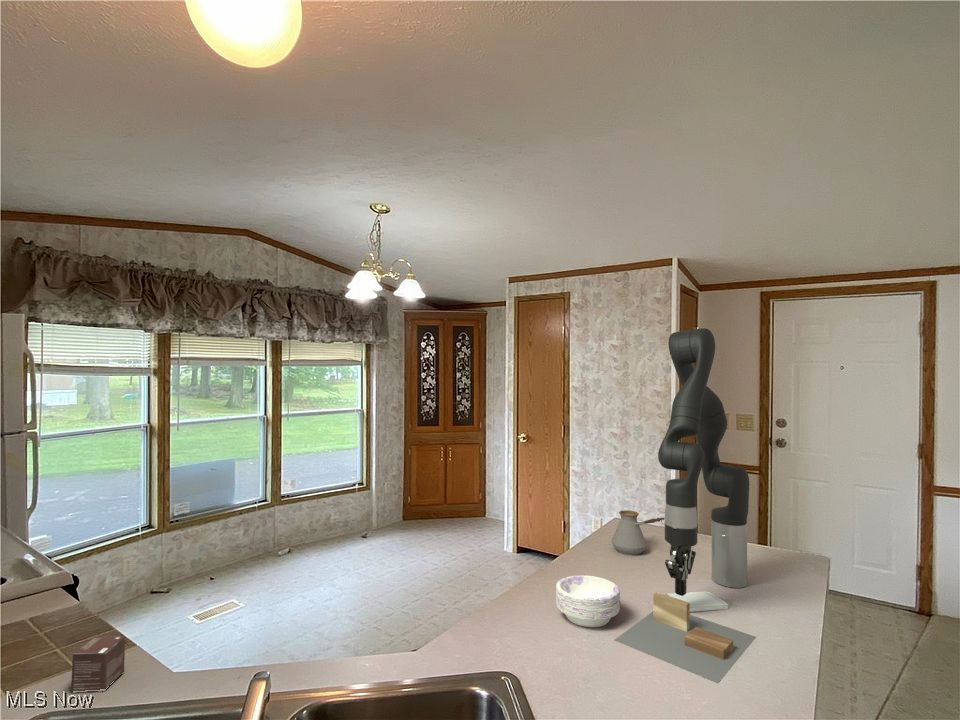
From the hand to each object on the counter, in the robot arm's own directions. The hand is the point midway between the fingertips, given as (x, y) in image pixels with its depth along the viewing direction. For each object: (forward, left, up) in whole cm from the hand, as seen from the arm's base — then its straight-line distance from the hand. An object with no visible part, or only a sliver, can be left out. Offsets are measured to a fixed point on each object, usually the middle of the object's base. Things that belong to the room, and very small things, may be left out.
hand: (680, 594), depth 123 cm
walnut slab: (+7, +10, -4) cm, 13 cm away
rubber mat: (+10, +5, -5) cm, 13 cm away
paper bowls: (+17, -16, -6) cm, 24 cm away
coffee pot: (-32, -27, -6) cm, 42 cm away
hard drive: (-9, 0, -5) cm, 10 cm away
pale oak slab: (+6, 0, -5) cm, 8 cm away
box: (+105, -68, -6) cm, 125 cm away
